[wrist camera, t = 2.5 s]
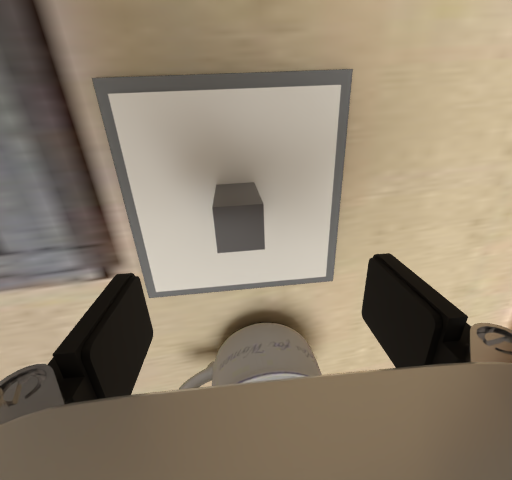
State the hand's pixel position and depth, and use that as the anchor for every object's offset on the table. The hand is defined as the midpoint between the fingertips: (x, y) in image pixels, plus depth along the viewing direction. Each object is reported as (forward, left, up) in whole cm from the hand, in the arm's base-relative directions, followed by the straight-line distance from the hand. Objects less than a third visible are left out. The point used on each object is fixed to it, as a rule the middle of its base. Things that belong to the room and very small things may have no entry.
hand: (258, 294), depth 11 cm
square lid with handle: (0, 0, -13) cm, 13 cm away
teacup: (+17, 0, -13) cm, 21 cm away
